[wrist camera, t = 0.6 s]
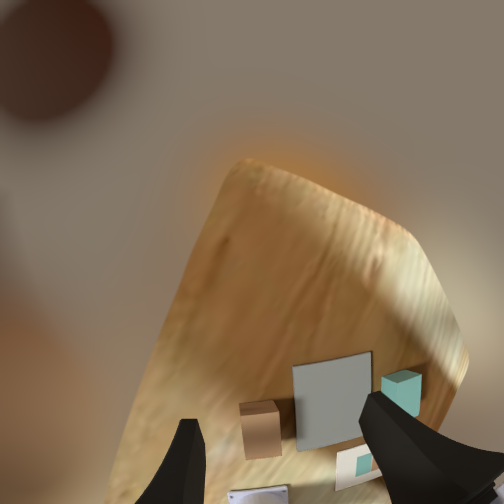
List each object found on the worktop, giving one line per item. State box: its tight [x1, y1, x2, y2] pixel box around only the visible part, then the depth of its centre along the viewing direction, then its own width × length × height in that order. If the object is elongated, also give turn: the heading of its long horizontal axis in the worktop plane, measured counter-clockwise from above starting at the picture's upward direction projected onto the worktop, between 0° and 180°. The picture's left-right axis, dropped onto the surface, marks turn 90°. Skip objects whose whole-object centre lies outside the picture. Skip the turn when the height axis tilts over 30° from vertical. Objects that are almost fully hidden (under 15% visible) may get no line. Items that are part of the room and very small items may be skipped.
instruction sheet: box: [335, 444, 382, 491], centre depth 27 cm, size 8×10×1 cm
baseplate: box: [292, 352, 371, 452], centre depth 29 cm, size 12×10×1 cm
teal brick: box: [381, 370, 422, 417], centre depth 28 cm, size 6×4×4 cm, turn 5°
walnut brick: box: [239, 400, 282, 460], centre depth 26 cm, size 6×4×4 cm, turn 5°
